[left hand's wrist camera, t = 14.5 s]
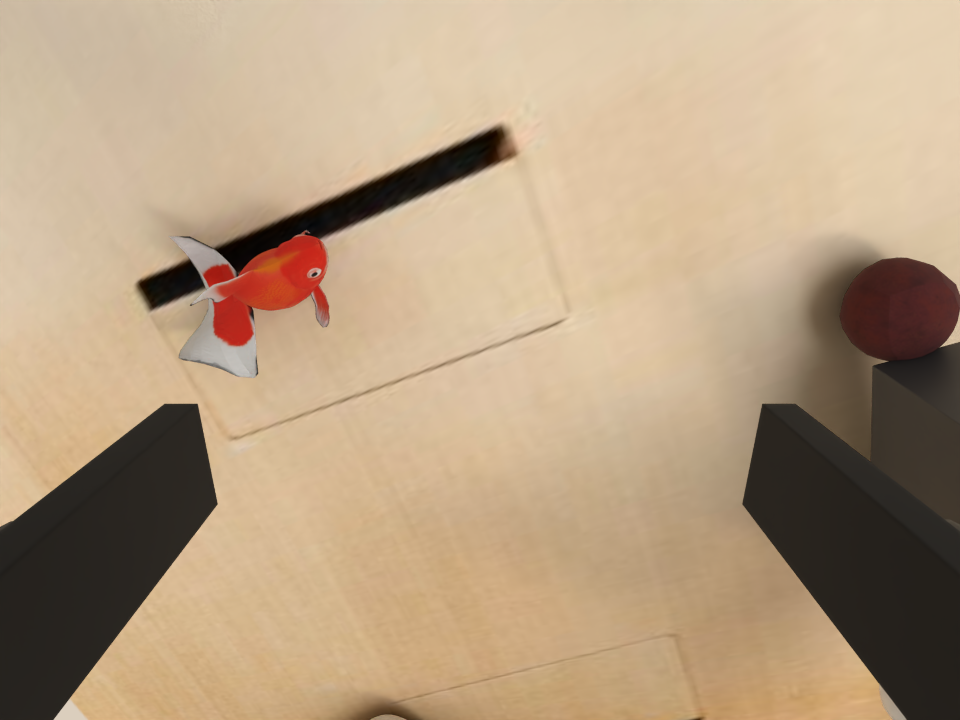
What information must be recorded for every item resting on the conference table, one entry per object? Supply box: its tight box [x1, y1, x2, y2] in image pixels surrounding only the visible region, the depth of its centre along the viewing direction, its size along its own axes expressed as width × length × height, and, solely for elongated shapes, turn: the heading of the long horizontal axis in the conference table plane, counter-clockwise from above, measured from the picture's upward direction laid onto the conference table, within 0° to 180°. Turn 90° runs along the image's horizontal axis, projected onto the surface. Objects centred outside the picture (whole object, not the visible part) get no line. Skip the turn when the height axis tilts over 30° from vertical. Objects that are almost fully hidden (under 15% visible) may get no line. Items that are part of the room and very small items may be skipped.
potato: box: [840, 258, 960, 361], centre depth 41 cm, size 7×8×7 cm
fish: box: [168, 231, 329, 378], centre depth 40 cm, size 11×16×10 cm
